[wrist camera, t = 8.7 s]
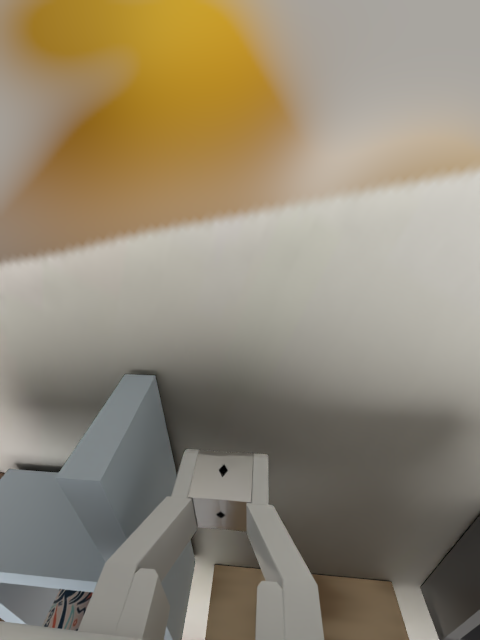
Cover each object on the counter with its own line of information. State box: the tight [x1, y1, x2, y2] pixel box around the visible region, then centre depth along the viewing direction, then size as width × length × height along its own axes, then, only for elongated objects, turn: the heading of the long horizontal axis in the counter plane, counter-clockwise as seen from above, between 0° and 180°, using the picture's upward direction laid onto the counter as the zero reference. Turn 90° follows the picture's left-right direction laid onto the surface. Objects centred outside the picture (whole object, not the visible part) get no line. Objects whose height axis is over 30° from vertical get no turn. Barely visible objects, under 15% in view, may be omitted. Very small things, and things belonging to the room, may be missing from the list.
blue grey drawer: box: [0, 374, 195, 640], centre depth 13 cm, size 9×16×4 cm, turn 1°
